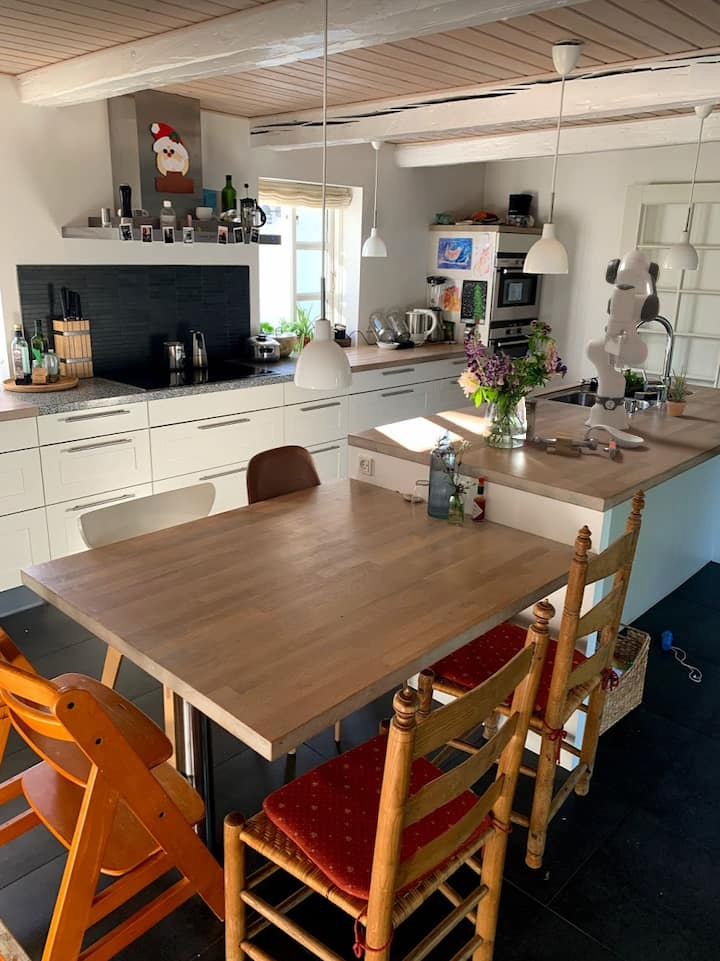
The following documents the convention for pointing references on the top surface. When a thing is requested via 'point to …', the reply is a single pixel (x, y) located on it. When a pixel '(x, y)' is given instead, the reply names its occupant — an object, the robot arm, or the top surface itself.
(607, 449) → the lever base
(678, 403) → the potted plant
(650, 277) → the robot arm
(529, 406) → the coffee box
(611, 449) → the latch lever
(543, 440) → the hook rod
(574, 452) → the eye block
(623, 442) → the spoon rest
